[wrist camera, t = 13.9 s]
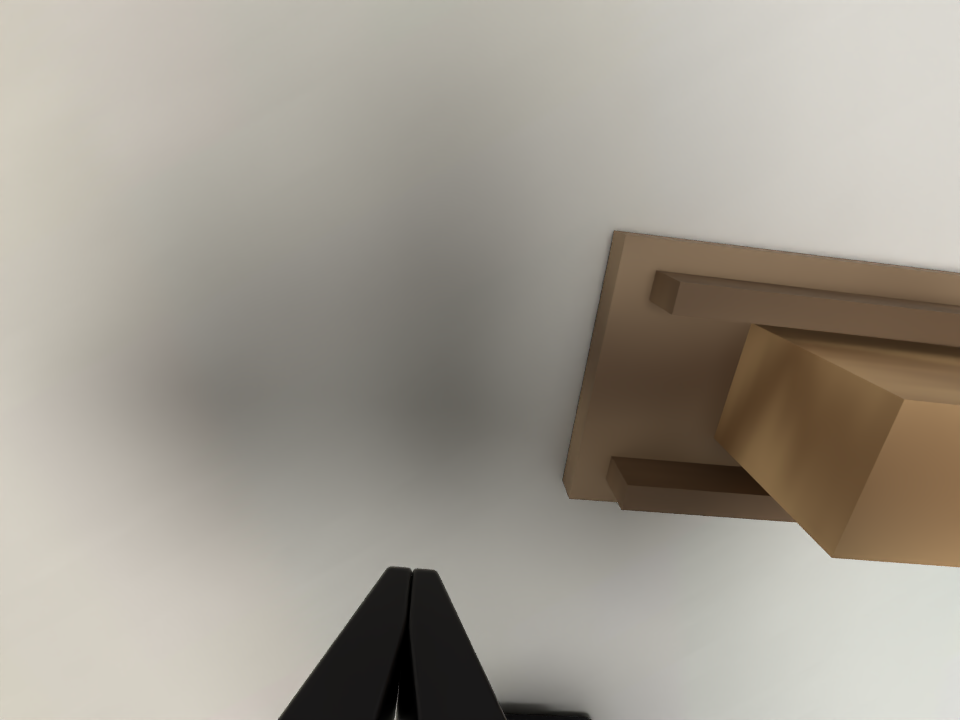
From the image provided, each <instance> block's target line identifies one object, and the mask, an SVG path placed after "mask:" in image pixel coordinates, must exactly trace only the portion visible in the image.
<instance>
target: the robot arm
mask: <svg viewBox="0 0 960 720" xmlns="http://www.w3.org/2000/svg"><path fill="white" fill-rule="evenodd" d="M398 689H399V690H398ZM397 696H398V700H397ZM396 704H397V712H396V720H591V719H589V718H586V717H569V716H539V715H509V714H504V713H503V711H502V708H501V706H500V704H499V702H498V700H497V698H496V696H495V694H494V691H493V689H492V687H491V685H490V683H489V681H488V679H487V676H486V674H485V672H484V670H483V668H482V666H481V664H480V662H479V659H478V657H477V655H476V653H475V651H474V649H473V647H472V644H471V642H470V640H469V638H468V636H467V634H466V632H465V630H464V627H463V625H462V623H461V621H460V619H459V617H458V615H457V612H456V610H455V608H454V606H453V604H452V602H451V600H450V597H449V595H448V593H447V591H446V589H445V587H444V585H443V583H442V580H441V578H440V576H439V574H438V572H437V571H435V570H430V569H418V568H417V569H414V570H413V572H412V570H411V569H410V568H406V567H393V566H391V567H388V568H387V569H386V570H385V572H384V573H383V574H382V576H381V577H380V579H379V580H378V581H377V583H376V584H375V586H374V587H373V588H372V590H371V591H370V592H369V594H368V595H367V597H366V598H365V599H364V601H363V602H362V604H361V605H360V606H359V608H358V609H357V611H356V612H355V613H354V615H353V616H352V617H351V619H350V620H349V622H348V623H347V624H346V626H345V627H344V629H343V630H342V631H341V633H340V634H339V635H338V637H337V638H336V640H335V641H334V642H333V644H332V645H331V647H330V648H329V649H328V651H327V652H326V653H325V655H324V656H323V658H322V659H321V660H320V662H319V663H318V665H317V666H316V667H315V669H314V670H313V671H312V673H311V674H310V676H309V677H308V678H307V680H306V681H305V683H304V684H303V685H302V687H301V688H300V689H299V691H298V692H297V694H296V695H295V696H294V698H293V699H292V701H291V702H290V703H289V705H288V706H287V708H286V709H285V710H284V712H283V713H282V714H281V716H280V717H279V719H278V720H394V717H395V711H396Z"/></svg>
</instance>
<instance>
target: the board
mask: <svg viewBox="0 0 960 720" xmlns="http://www.w3.org/2000/svg"><path fill="white" fill-rule="evenodd" d="M751 324H760V325H770V326H779V327H788V328H797V329H806V330H815V331H825V332H833V333H842V334H850V335H859V336H867V337H875V338H884V339H892V340H901V341H909V342H917V343H926V344H934V345H943V346H951V347H959V348H960V273H955V272H947V271H939V270H930V269H922V268H914V267H906V266H898V265H890V264H882V263H874V262H865V261H857V260H849V259H841V258H833V257H825V256H817V255H809V254H801V253H792V252H784V251H776V250H768V249H760V248H752V247H744V246H736V245H727V244H719V243H711V242H703V241H695V240H687V239H679V238H671V237H663V236H654V235H646V234H638V233H630V232H622V231H614V234H613V239H612V244H611V249H610V254H609V258H608V263H607V268H606V273H605V278H604V283H603V287H602V292H601V297H600V302H599V307H598V312H597V316H596V321H595V326H594V331H593V336H592V340H591V345H590V350H589V355H588V360H587V365H586V369H585V374H584V379H583V384H582V389H581V394H580V398H579V403H578V408H577V413H576V418H575V422H574V427H573V432H572V437H571V442H570V447H569V451H568V456H567V461H566V466H565V471H564V476H563V483H564V486H565V488H566V491H567V494H568V497H569V499H581V500H594V501H608V502H618V504H619V506H620V508H621V510H632V511H646V512H660V513H674V514H688V515H702V516H716V517H729V518H743V519H757V520H771V521H785V522H796V521H795V520H794V519H793V518H792V517H791V516H790V515H789V514H788V513H787V512H786V511H785V510H784V509H783V508H782V507H781V506H780V505H779V504H778V503H777V502H776V501H775V500H774V499H773V498H772V497H771V496H770V495H769V494H768V493H767V492H766V491H765V490H764V488H763V487H762V486H761V485H760V484H759V483H758V482H757V481H756V480H755V479H754V478H753V477H752V476H751V475H750V474H749V473H748V472H747V471H746V470H745V469H744V468H743V467H742V466H741V465H740V464H739V463H738V462H737V461H736V460H735V459H734V458H733V457H732V456H731V455H730V454H729V453H728V452H727V451H726V450H725V449H724V448H723V447H722V446H721V445H720V444H719V443H718V442H717V441H716V440H715V439H714V436H715V433H716V430H717V427H718V424H719V421H720V418H721V415H722V412H723V409H724V406H725V402H726V399H727V396H728V393H729V390H730V387H731V384H732V381H733V378H734V375H735V372H736V369H737V366H738V363H739V360H740V357H741V354H742V351H743V347H744V344H745V341H746V338H747V335H748V332H749V329H750V326H751Z"/></svg>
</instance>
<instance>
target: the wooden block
mask: <svg viewBox="0 0 960 720" xmlns="http://www.w3.org/2000/svg"><path fill="white" fill-rule="evenodd" d="M714 439H715V440H716V441H717V442H718V443H719V444H720V445H721V446H722V447H723V448H724V449H725V450H726V451H727V452H728V453H729V454H730V455H731V456H732V457H733V458H734V459H735V460H736V461H737V462H738V463H739V464H740V465H741V466H742V467H743V468H744V469H745V470H746V471H747V472H748V473H749V474H750V475H751V476H752V477H753V478H754V479H755V480H756V481H757V482H758V483H759V484H760V485H761V486H762V487H763V488H764V490H765V491H766V492H767V493H768V494H769V495H770V496H771V497H772V498H773V499H774V500H775V501H776V502H777V503H778V504H779V505H780V506H781V507H782V508H783V509H784V510H785V511H786V512H787V513H788V514H789V515H790V516H791V517H792V518H793V519H794V520H795V521H796V522H797V523H798V524H799V525H800V526H801V527H802V528H803V529H804V530H805V531H806V532H807V533H808V534H809V535H810V536H811V537H812V538H813V539H814V540H815V541H816V542H817V543H818V544H819V545H820V546H821V547H822V548H823V549H824V550H825V551H826V552H827V553H828V554H829V555H830V557H831V558H842V559H855V560H869V561H882V562H896V563H909V564H923V565H936V566H950V567H960V348H959V347H951V346H943V345H934V344H926V343H917V342H909V341H901V340H892V339H884V338H875V337H867V336H859V335H850V334H842V333H833V332H825V331H815V330H806V329H797V328H788V327H779V326H770V325H760V324H751V326H750V329H749V332H748V335H747V338H746V341H745V344H744V347H743V351H742V354H741V357H740V360H739V363H738V366H737V369H736V372H735V375H734V378H733V381H732V384H731V387H730V390H729V393H728V396H727V399H726V402H725V406H724V409H723V412H722V415H721V418H720V421H719V424H718V427H717V430H716V433H715V436H714Z"/></svg>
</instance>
